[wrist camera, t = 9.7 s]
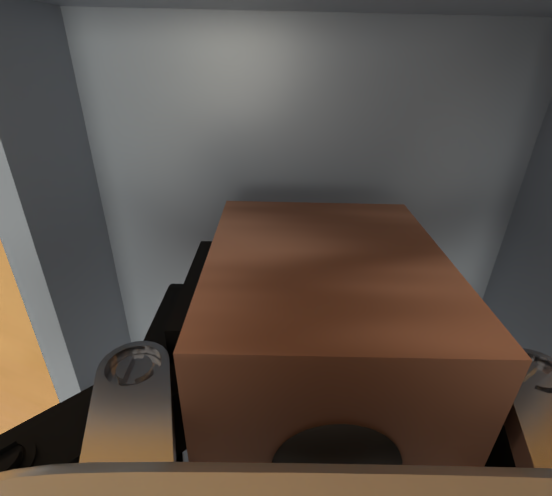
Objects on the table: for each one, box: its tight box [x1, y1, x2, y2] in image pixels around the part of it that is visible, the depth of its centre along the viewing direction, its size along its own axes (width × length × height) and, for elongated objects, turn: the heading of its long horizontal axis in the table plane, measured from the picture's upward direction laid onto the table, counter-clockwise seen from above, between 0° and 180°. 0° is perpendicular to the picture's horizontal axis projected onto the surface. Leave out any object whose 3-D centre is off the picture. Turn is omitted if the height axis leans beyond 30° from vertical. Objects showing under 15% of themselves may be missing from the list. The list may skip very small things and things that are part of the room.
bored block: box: [173, 201, 532, 467], centre depth 9 cm, size 5×5×6 cm
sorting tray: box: [0, 0, 552, 462], centre depth 12 cm, size 16×16×4 cm
